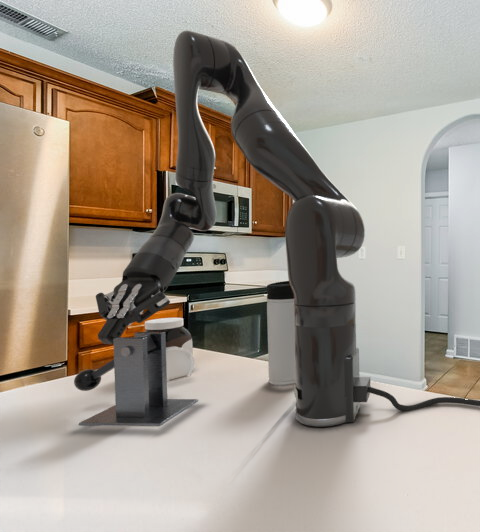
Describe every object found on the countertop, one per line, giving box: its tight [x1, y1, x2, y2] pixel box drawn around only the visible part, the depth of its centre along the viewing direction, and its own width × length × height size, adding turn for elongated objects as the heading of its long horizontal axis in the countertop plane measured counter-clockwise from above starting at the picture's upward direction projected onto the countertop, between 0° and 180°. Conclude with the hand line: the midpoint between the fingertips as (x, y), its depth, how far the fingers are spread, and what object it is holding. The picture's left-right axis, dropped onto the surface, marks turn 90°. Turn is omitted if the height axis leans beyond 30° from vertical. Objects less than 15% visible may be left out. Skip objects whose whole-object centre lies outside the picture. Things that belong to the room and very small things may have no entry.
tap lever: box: [73, 334, 157, 392], centre depth 57 cm, size 13×3×3 cm
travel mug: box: [266, 280, 296, 387], centre depth 71 cm, size 6×7×20 cm
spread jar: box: [144, 317, 196, 383], centre depth 76 cm, size 12×11×12 cm
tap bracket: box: [78, 331, 199, 427], centre depth 57 cm, size 12×9×13 cm
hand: (105, 341), depth 61 cm, fingers closed
